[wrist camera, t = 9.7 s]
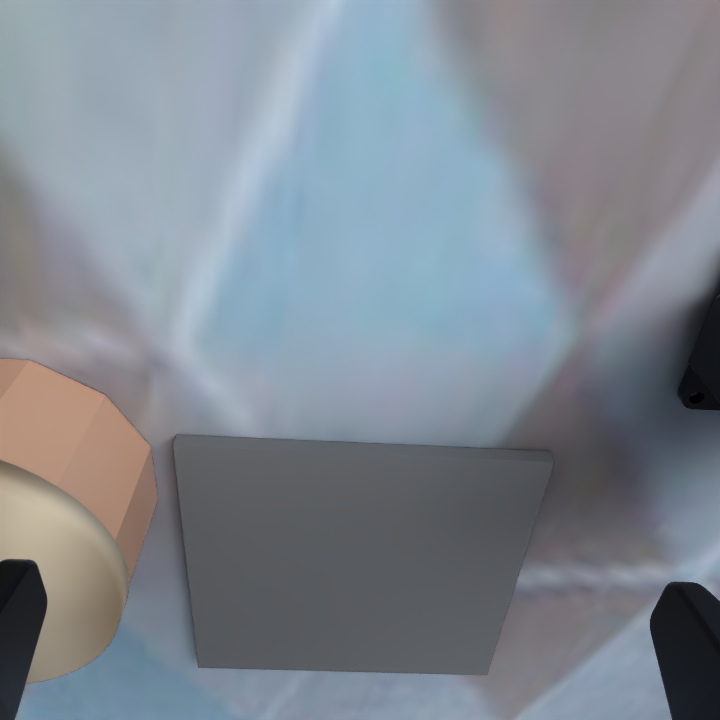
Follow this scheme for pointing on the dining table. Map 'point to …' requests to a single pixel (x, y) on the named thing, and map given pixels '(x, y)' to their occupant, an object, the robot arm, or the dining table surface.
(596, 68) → the dining table surface
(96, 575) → the lid
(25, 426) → the bowl
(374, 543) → the mat
